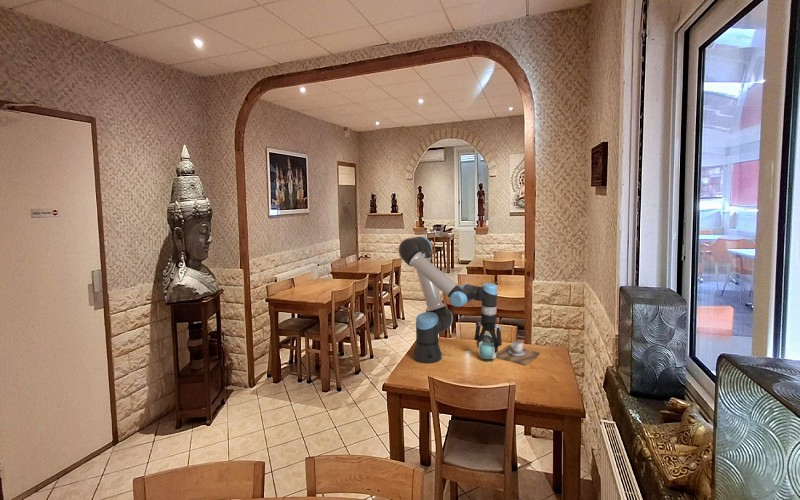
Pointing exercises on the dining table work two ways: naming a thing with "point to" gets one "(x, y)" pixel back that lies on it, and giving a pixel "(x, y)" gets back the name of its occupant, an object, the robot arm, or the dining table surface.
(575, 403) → the dining table surface
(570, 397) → the dining table surface
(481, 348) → the turquoise round jar
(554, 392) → the dining table surface
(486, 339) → the ceramic mug
